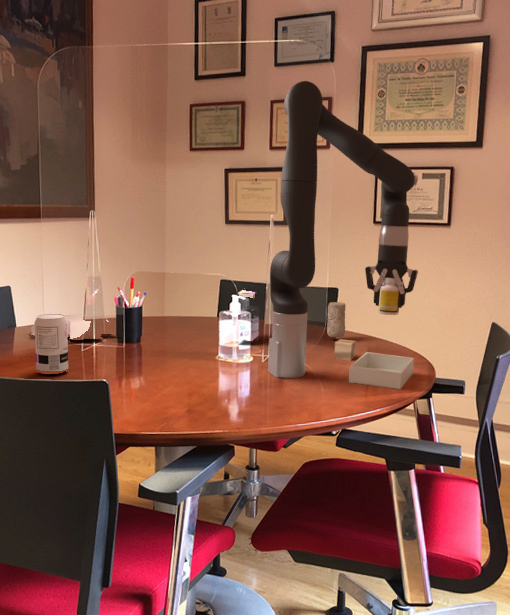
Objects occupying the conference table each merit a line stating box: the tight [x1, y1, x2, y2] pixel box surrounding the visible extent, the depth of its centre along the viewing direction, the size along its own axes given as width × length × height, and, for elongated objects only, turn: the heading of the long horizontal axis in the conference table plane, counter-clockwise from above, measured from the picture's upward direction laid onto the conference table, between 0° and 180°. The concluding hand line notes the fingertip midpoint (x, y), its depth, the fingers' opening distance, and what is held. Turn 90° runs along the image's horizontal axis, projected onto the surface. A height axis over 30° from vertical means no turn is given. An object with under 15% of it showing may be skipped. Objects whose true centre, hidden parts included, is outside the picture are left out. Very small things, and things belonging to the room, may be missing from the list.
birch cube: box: [333, 338, 357, 361], centre depth 187 cm, size 5×5×5 cm
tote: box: [348, 351, 415, 390], centre depth 165 cm, size 17×13×5 cm
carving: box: [326, 301, 347, 338], centre depth 215 cm, size 6×8×12 cm
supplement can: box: [33, 313, 69, 371], centre depth 164 cm, size 8×8×15 cm
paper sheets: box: [29, 314, 110, 340], centre depth 214 cm, size 35×20×6 cm, turn 66°
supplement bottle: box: [377, 278, 400, 316], centre depth 166 cm, size 5×5×10 cm
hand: (388, 306), depth 166 cm, fingers closed on supplement bottle, 5 cm apart
